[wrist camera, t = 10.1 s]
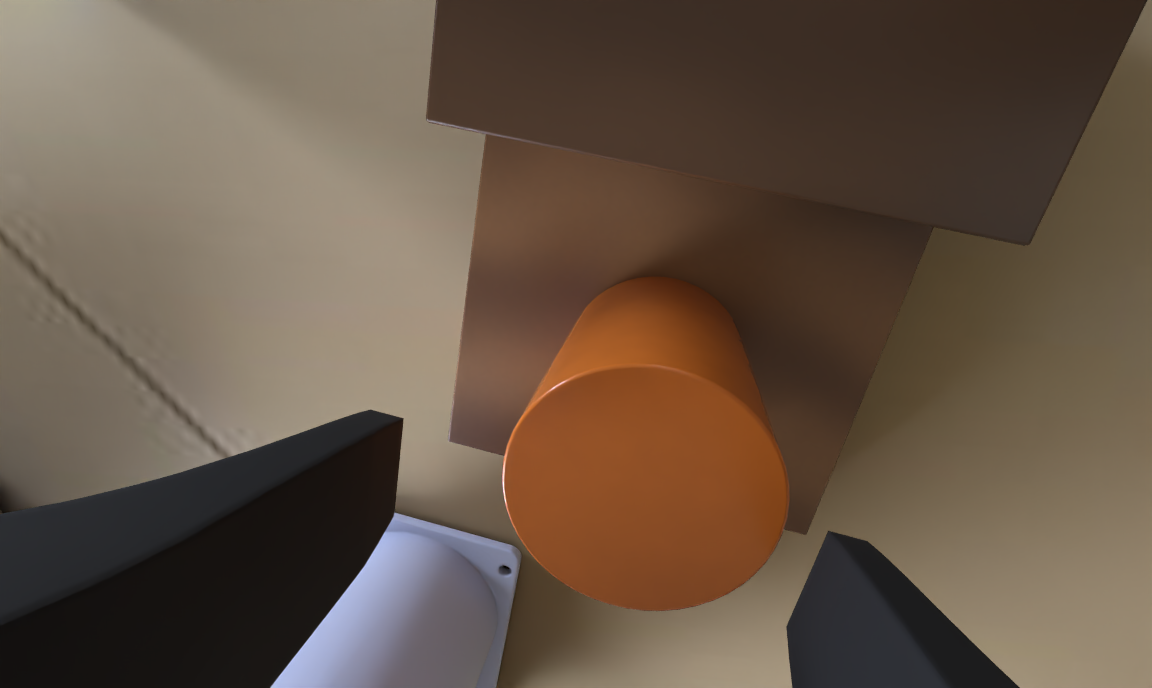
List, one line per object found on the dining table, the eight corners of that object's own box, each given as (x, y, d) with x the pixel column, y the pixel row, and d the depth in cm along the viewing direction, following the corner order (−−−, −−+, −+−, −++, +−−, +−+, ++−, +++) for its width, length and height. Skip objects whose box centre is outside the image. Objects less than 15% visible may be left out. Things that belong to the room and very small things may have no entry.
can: (767, 298, 15) (834, 406, 9) (716, 457, 17) (740, 643, 11) (585, 257, 16) (523, 332, 9) (554, 416, 18) (484, 570, 11)
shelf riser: (794, 499, 20) (841, 639, 14) (467, 415, 21) (390, 513, 15) (1002, -28, 14) (1221, -148, 8) (538, -104, 15) (457, -254, 9)
